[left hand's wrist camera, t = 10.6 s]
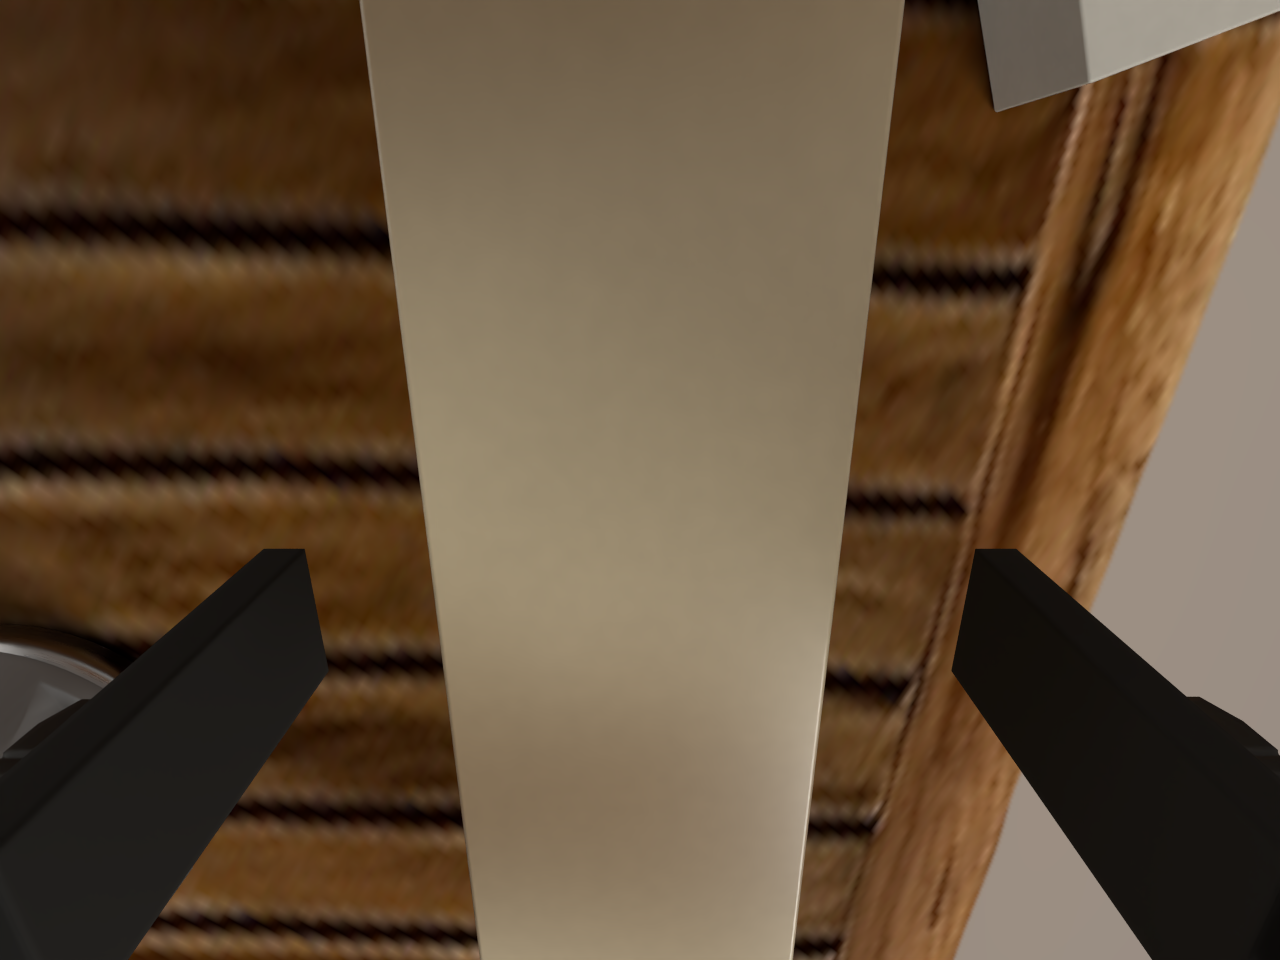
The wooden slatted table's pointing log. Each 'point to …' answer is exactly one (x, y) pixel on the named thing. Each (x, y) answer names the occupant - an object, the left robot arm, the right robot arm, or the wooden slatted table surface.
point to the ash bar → (634, 436)
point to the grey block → (1093, 38)
